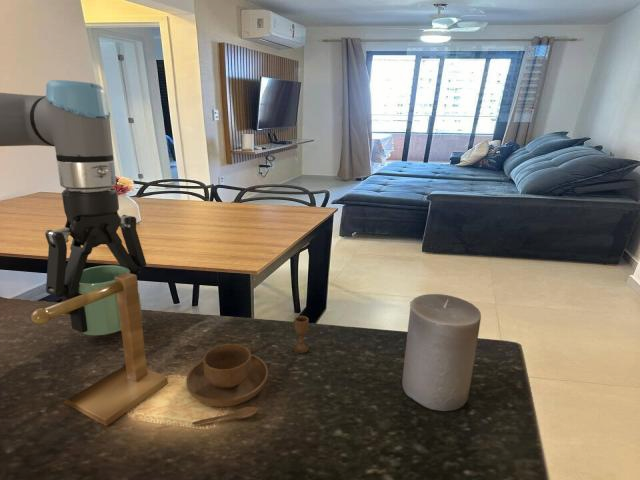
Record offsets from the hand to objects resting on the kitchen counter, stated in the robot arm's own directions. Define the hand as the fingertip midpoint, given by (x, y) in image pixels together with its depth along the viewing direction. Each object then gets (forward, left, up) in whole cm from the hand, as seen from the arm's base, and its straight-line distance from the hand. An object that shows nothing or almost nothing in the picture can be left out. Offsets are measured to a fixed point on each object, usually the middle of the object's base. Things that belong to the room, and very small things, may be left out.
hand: (106, 317), depth 66 cm
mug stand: (+11, -10, -5) cm, 16 cm away
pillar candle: (+53, +15, -5) cm, 56 cm away
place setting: (+28, +4, -5) cm, 29 cm away
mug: (+2, 0, -1) cm, 2 cm away
